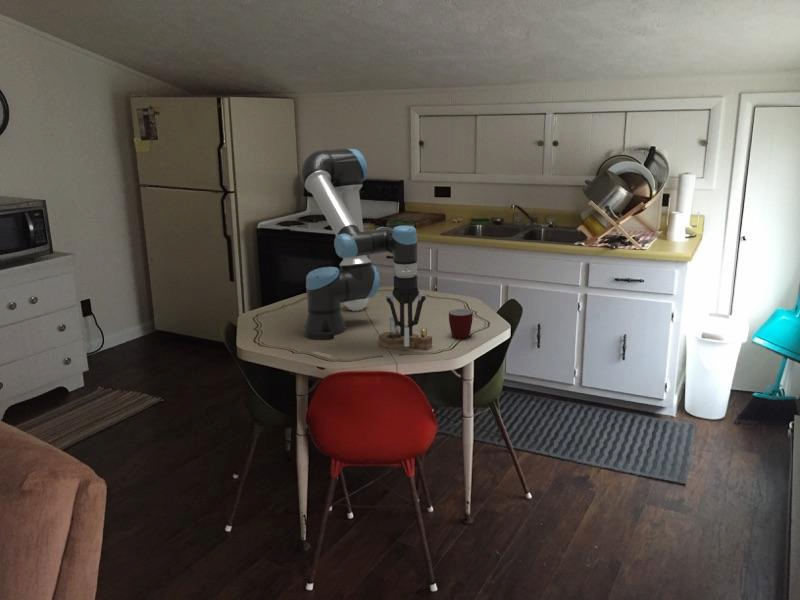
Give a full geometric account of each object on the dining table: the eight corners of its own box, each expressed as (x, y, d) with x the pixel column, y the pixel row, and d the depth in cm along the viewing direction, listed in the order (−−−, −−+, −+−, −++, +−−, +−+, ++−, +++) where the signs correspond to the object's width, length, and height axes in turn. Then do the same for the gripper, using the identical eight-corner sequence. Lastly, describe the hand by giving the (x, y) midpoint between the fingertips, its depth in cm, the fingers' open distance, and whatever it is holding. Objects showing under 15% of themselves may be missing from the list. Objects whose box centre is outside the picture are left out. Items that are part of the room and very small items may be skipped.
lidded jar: (340, 312, 274) (339, 289, 271) (345, 305, 284) (344, 283, 281) (367, 313, 272) (366, 290, 270) (371, 305, 283) (370, 283, 280)
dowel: (419, 343, 232) (419, 329, 230) (423, 341, 234) (422, 327, 232) (424, 344, 231) (424, 330, 229) (428, 342, 232) (428, 328, 231)
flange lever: (374, 345, 230) (374, 335, 229) (388, 336, 239) (388, 327, 238) (423, 353, 222) (423, 342, 221) (436, 343, 231) (436, 333, 230)
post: (388, 343, 232) (387, 318, 230) (394, 341, 234) (393, 316, 232) (395, 345, 230) (395, 319, 228) (401, 342, 233) (400, 317, 230)
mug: (447, 334, 244) (447, 307, 241) (469, 333, 244) (470, 306, 242) (450, 344, 234) (450, 316, 231) (473, 343, 234) (474, 315, 231)
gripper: (385, 278, 215) (387, 350, 221) (427, 277, 216) (427, 348, 222) (384, 273, 222) (385, 342, 228) (424, 271, 223) (424, 340, 229)
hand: (406, 345), depth 225 cm, fingers closed
